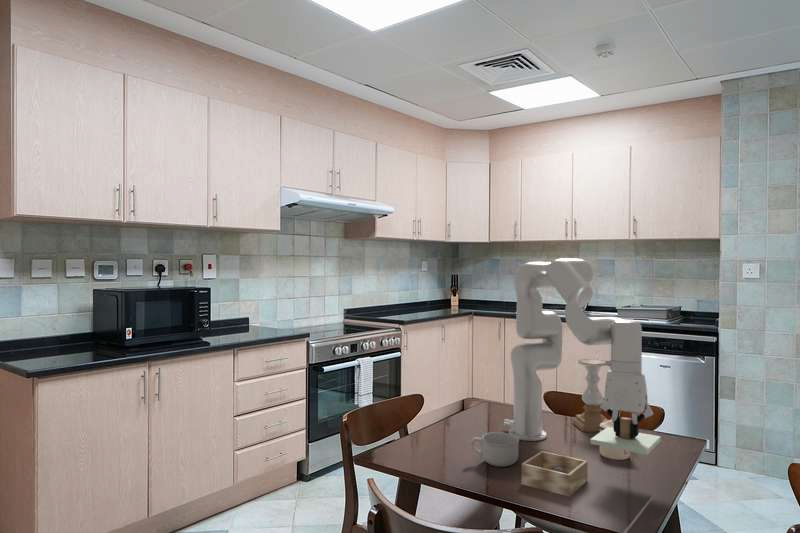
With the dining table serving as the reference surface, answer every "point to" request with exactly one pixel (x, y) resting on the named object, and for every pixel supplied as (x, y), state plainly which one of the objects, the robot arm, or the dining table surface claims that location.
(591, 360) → the candle holder
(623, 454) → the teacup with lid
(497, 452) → the teacup
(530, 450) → the dining table surface
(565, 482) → the box
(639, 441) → the lid
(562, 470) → the ball
